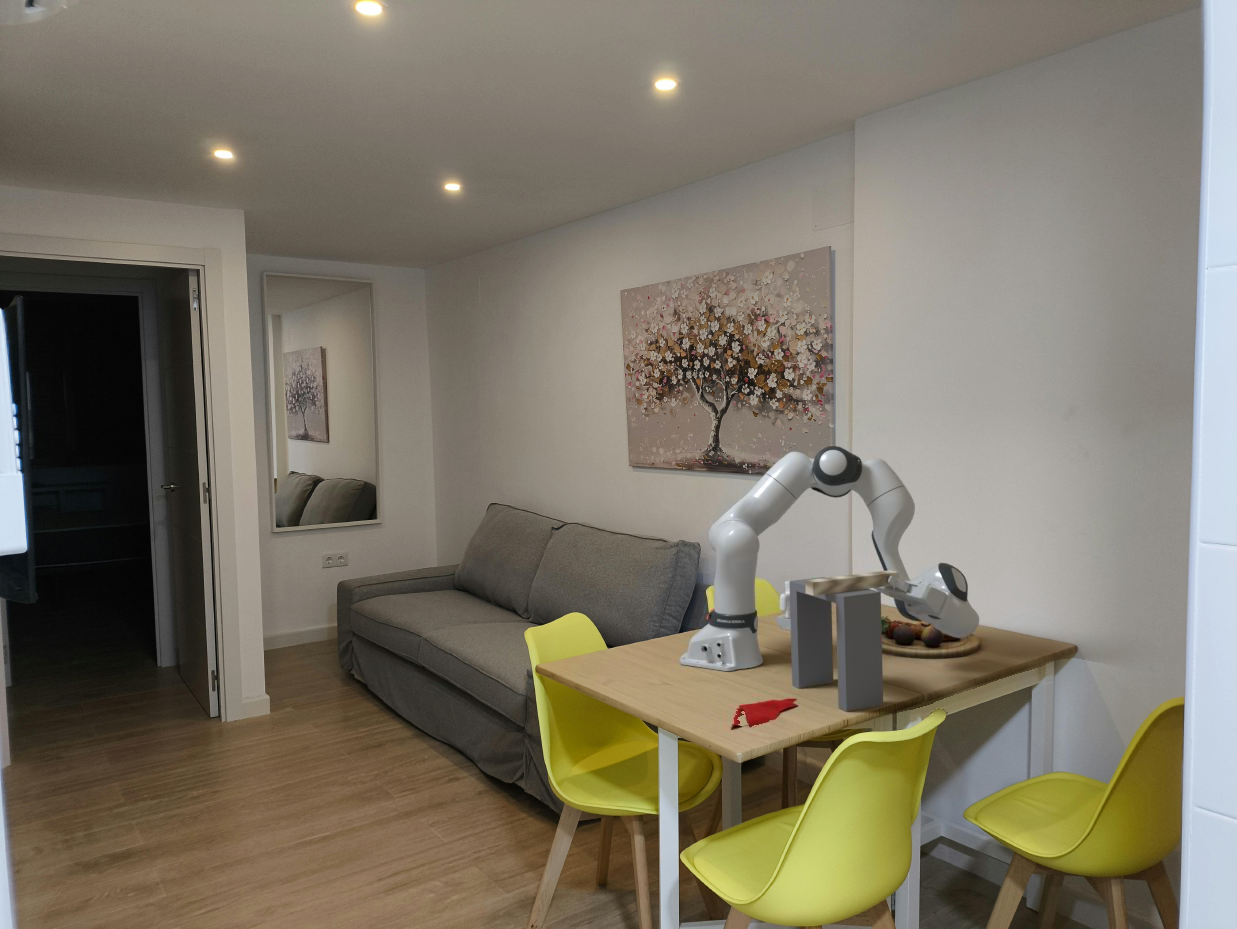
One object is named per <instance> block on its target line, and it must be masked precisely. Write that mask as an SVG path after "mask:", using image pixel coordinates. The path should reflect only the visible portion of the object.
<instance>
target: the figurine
mask: <svg viewBox="0 0 1237 929" xmlns="http://www.w3.org/2000/svg"><path fill="white" fill-rule="evenodd" d="M790 581H791V580H788V581H787V580H786V581H784V587H785V593H781V594H780V596H779V610H780V612H783V613H784V612H785V613H784V614H781V615H778V616H776V617H774V619H775V621H776V623H777V624H778V626H779V628H780V629H781V630H785V629H787V631H791V618H790Z"/></svg>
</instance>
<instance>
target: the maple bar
mask: <svg viewBox="0 0 1237 929" xmlns="http://www.w3.org/2000/svg"><path fill="white" fill-rule="evenodd" d="M888 575H889V576H893V577H895V578H897V579H899V572H897V571H892V570H888V571H884V570H880V571H873V572H866V573H865V572H863V573H855V574H849V575H847V574H846V575H840V576H839V575H838V576H830V577H825V578H821V579H812V578H811V579H812V580H805V586H806V594H809V595H813V596H815V595H823V594H830V593H838V592H846V591H854V590H862V589H873V588H878V587H885V586H893V585H890V584H888V583H887V582H886V579H887V576H888Z"/></svg>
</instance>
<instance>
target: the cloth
mask: <svg viewBox="0 0 1237 929" xmlns="http://www.w3.org/2000/svg"><path fill="white" fill-rule="evenodd" d="M796 701H798V699H797V698H784V699H770V700H765V701H758V702H754V703H745V704H740V705H738V708H736V710H738V711H736V710H735V711H736V712H735V713H736V714H737V715H736V714H734V715H735V717H734V716H733V719H734V724H733V723H732V724H731V727H730V728H733V727H734V728H735V726H738V727H740V725H738V724H740V721H739V720H737V719H738V717H740V716H742V715H744V714H742V713H741V712H742V711H744V712H745V715H746V721H747V723H748V724H749V725H748V726H749V727H750V728H751V727H752V726H754V725H758V726H760V725H759V724H761V725H764V724H767V723H769V722H770V720H771V721H774V720H776V719H777V718H778V717H779V714H780V712H782V711H785V710H789V709H791V708H794V707H799V705H798V704H796V703H795V702H796ZM733 719H732V720H733ZM763 723H764V724H763ZM734 728H733V729H734Z"/></svg>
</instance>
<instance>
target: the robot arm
mask: <svg viewBox="0 0 1237 929" xmlns="http://www.w3.org/2000/svg"><path fill="white" fill-rule="evenodd" d="M808 489H811V490H813V491H815V492H817V493H820V494H822V495H825V496H827V497H831V498H834V499H835V498H836V499H837V498H842V497H845V496H846V495H848V494H849V493H850V492H852V491H854V492H855V493H856V494H858V495H859V496H860V498H861V499H862V501H863V502H864V504H865V506H866V507H867V509H868V511H869V513H870V515H871V519H872V528H873V529H872V531H871V541H872V544H873V547H874V549H875V551H876V555H877V557H878V560H879V562H880V565H881V567H882V569H883V571H888V570H892V571H897V572H899V579H897V578H895V577H893V576H889V575H888V576H887V579H886V582H887V583H888V584H890V585H893V586H885V587H878V588H872V590H875V591H879V592H881V594H883V595H885V596H888V597H890V598H893V601H894V604H895V605H894V606H895V607H896V609H897V611H898V613H899V614H900V615H901V616H902V617H904V618H905V619H907V620H911V621H913V622H917V623H918V622H922V621H923V622H925V623H929V624H932V626H933V627H935V628H936V629H938V630H939V631H941V632H943V633H945V634H947V635H950V636H952V637H956V638H965V637H967V636H969V635H971V634H973V633H975V631H976V630H977V628H978V627H979V624H980V616H979V614H978V612H977V611H976V610H975V609H974V608H973V607H972V605H971V603H970V602H969V598H968V597H969V596H968V594H969V591H968V590H969V588H968V587H969V586H968V581H967V578H966V576H965V575H964V574H963V573H962V571H961V570H960V569H958V568H957V567H955V566H954V565H951V564H949V563H945V562H939V563H938V564H936V565H933V566H931V567H930V568H929V569H927V570H926V571H924V572H923V573H922V574H919V575H918V576H916V577H914V578H912V579H911V578H910V577H909V575H908V572H907V570H906V568H905V564H904V562H903V560H902V558H901V556H900V553H899V545H900V541H901V540H902V537H903V535H904V533H905V532H906V531H907V529H908V527H909V526H910V525H911V523H912V521H913V519H914V516H915V512H916V511H915V510H916V505H915V502H914V499H913V497H912V494H911V493H910V492H909V490H908V488H907V487H906V486H905V484H904V482H903V481H902V480H901V478H900V476H899V475H898V474H897V473H896V471H894V470H893V468H892V467H891V466H890V465H889V464H888V462H886V461H885V460H884V459H882V458H878V457H877V458H876V457H874V458H873V457H872V458H869V459H866V460H864V461H862V459H861V458H860V457H859V456H858V455H856V454H854V453H852V452H850V451H848V450H847V449H845V448H843V447H842V446H841V447H840V446H837V445H830V446H826V447H824V448H822V449H821V450H819V451H818V452H817V453H816V455H815V457H814V458H812V457H809V456H808V455H806V454H805V453H804V452H800V451H790V452H788V453H787V454H786V455H784V456H783V457H782V458H780V459H779V460H778V461H777V462H775V463H774V464H773V465H772V466H771V467H770V468H769V469H768V470H767V471H766V473H764V474H763V476H762V477H761V478H760V479H758V481H757V483H756V484H755V485H754V486H752V488H751V489H750V490H749V491H748V492H747V493H746V494H745V495H744V496H743V497H742V498H741V499H739V501H737V502H736V503H735V504H734V505H733V506H731V507H730V508H729V509H728V510H727V511H726V512H725V513H724V514H723V515H722V516H720V517H719V519H717V520H716V521H715V522H713V523H712V525H711V526H710V528H709V531H708V542H709V546H710V547H711V549H712V550H713V551H714V552H715V553H716V565H715V566H716V568H715V575H714V576H715V577H714V580H713V589H714V590H713V596H714V597H713V599H714V607H713V608H711V610H710V611H709V612H708V613H707V615H706V620H707V622H708V623H707V624H706V625H705V626H703V627H702V628H701V629H700V630H699V631H697V632H695V634H694V635H692V637H691V638H690V640H689V642H688V648H687V651H686V652H685V653H682V655H681V656H680V658H679V664H680V665H684V666H692V667H696V668H697V667H698V668H704V669H710V670H716V671H723V672H732V671H736V670H742V669H748V668H749V669H751V668H754V667H758V666H760V665H762V664H763V663H764V659H763V657H762V653H761V648H760V645H759V638H758V629H759V616H758V611H757V610H756V587H755V586H756V573H757V567H758V566H757V565H758V554H759V550H760V540H759V536H760V535H761V534H762V533H763V532H765V531H766V530H767V529H769V528H770V527H771V526H773V525H775V524H776V523H777V522H779V520H780V519H781V518H782V517H783V516H784V515H785V514H786V513H787V511H789V509H791V507H792V506H793V505H794V504H795V503H796V501H797V500H798V499H799V498H800V497H801V496H802V495H803V494H804V493H805V491H807V490H808Z"/></svg>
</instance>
